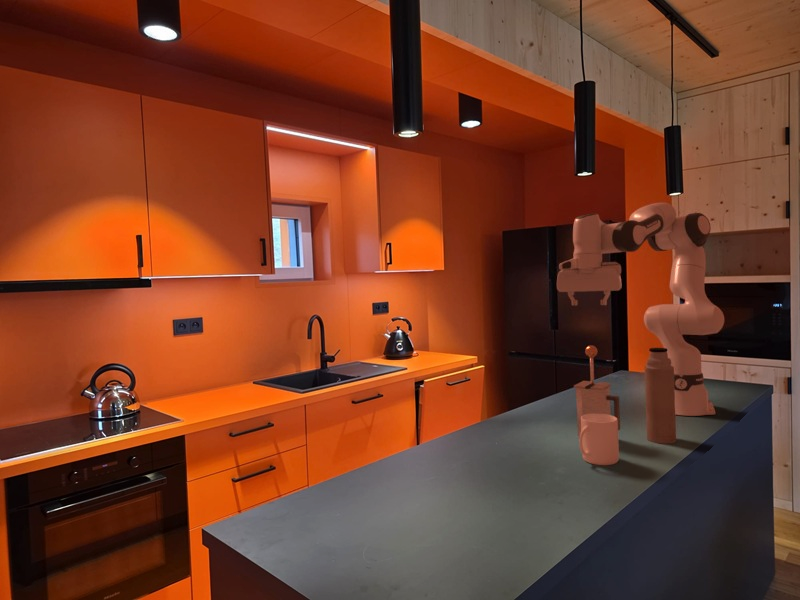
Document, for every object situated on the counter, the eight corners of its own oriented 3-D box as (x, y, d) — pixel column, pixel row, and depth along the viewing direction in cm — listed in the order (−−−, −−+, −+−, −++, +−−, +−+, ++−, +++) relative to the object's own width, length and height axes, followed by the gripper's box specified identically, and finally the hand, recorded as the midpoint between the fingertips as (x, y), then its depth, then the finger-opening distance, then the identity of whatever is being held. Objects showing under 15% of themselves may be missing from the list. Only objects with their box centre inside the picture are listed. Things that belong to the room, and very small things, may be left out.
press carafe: (584, 433, 166) (582, 380, 166) (623, 439, 159) (622, 383, 158) (575, 440, 159) (572, 385, 159) (615, 447, 152) (613, 389, 151)
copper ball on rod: (585, 398, 164) (583, 343, 164) (607, 400, 160) (605, 344, 159) (578, 403, 159) (576, 346, 158) (600, 405, 155) (598, 347, 154)
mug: (625, 459, 142) (623, 417, 141) (604, 471, 133) (603, 426, 133) (592, 451, 149) (591, 411, 148) (571, 463, 140) (569, 420, 140)
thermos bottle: (671, 435, 160) (668, 346, 159) (679, 443, 152) (677, 349, 151) (643, 435, 161) (640, 346, 160) (650, 443, 153) (647, 350, 152)
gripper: (623, 261, 165) (624, 304, 165) (561, 265, 177) (562, 305, 178) (618, 260, 160) (619, 305, 160) (554, 264, 172) (555, 305, 173)
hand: (588, 305), depth 169 cm, fingers open, 8 cm apart
